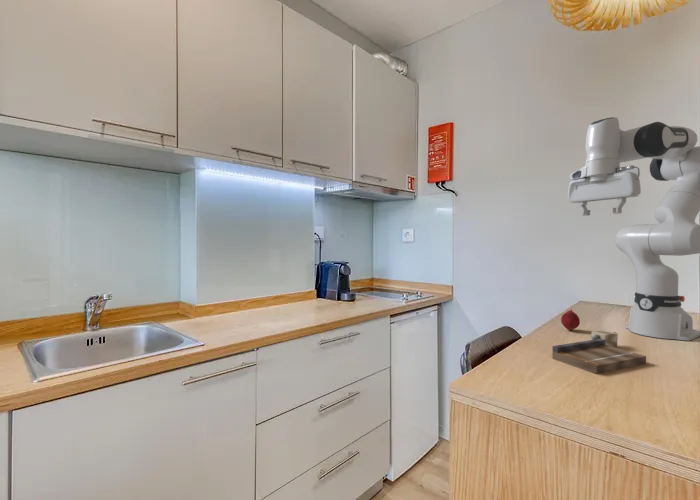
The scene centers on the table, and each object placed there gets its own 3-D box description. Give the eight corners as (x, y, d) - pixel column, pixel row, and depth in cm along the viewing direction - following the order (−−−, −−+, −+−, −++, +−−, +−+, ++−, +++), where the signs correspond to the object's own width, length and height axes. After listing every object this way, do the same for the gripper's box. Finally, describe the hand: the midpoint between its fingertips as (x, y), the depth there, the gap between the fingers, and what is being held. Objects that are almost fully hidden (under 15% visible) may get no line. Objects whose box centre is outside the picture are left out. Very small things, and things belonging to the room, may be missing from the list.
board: (600, 350, 104) (600, 338, 104) (646, 363, 93) (646, 350, 93) (552, 358, 97) (552, 346, 97) (596, 373, 86) (596, 360, 86)
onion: (582, 333, 123) (583, 311, 123) (564, 332, 124) (565, 310, 124) (575, 329, 129) (575, 307, 128) (558, 328, 130) (558, 307, 130)
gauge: (607, 343, 111) (608, 329, 111) (621, 346, 108) (621, 332, 107) (586, 346, 108) (587, 332, 108) (600, 350, 104) (600, 335, 104)
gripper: (646, 164, 100) (645, 212, 100) (577, 176, 119) (577, 216, 120) (632, 163, 98) (631, 211, 98) (564, 175, 117) (564, 216, 117)
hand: (601, 214), depth 109 cm, fingers open, 8 cm apart
